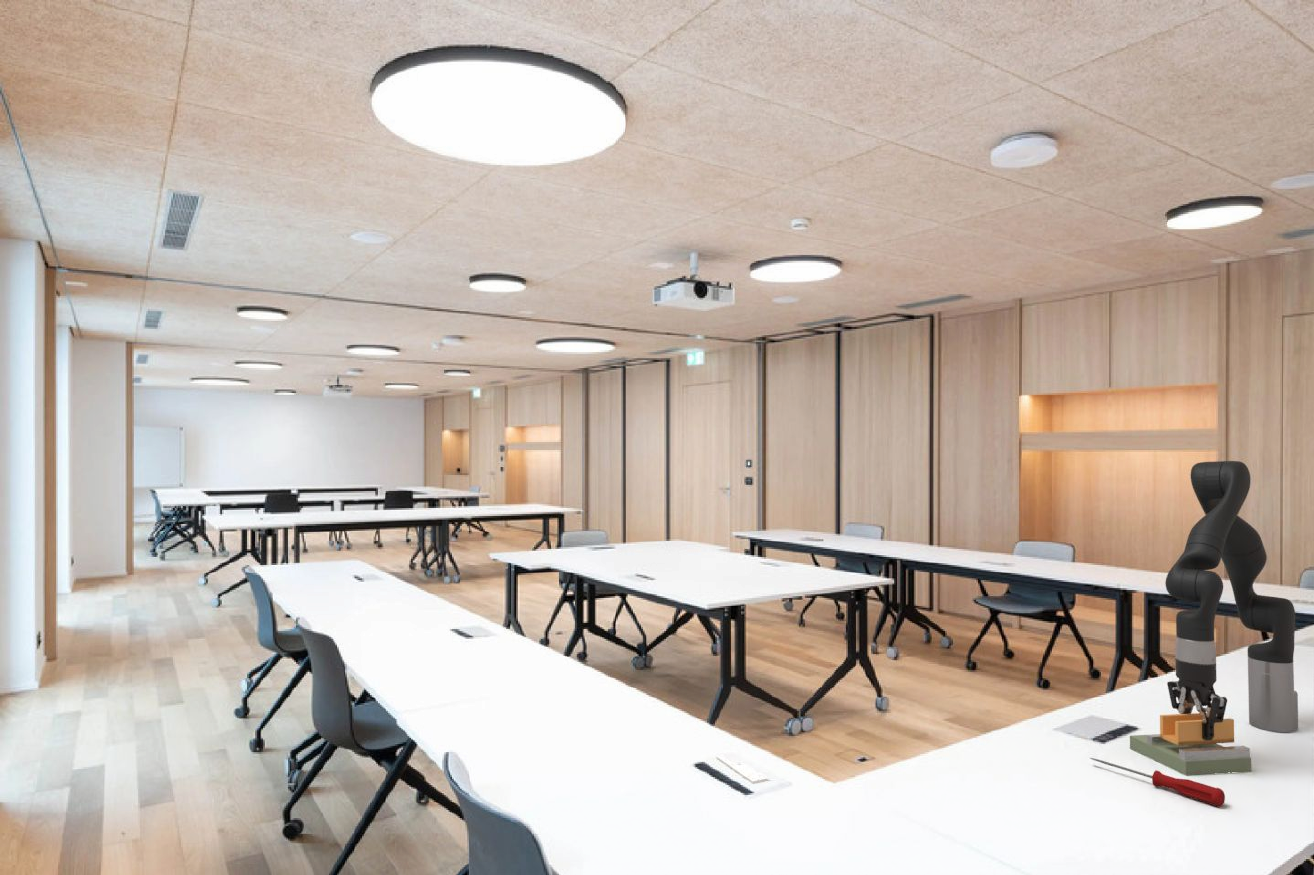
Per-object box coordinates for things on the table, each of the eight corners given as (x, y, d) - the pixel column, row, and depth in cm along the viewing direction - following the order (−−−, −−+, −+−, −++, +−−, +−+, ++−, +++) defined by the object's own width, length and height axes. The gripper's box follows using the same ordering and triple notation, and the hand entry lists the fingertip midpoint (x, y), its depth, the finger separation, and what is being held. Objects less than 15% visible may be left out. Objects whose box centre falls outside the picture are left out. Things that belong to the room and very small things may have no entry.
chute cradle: (1208, 740, 178) (1208, 731, 178) (1249, 757, 167) (1249, 748, 167) (1147, 743, 175) (1146, 734, 176) (1184, 761, 165) (1184, 751, 165)
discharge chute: (1214, 734, 175) (1214, 712, 175) (1234, 742, 170) (1233, 719, 170) (1160, 737, 173) (1159, 715, 173) (1178, 745, 168) (1178, 722, 168)
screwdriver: (1094, 764, 171) (1094, 748, 171) (1226, 805, 150) (1226, 787, 151) (1086, 767, 169) (1086, 751, 169) (1219, 810, 148) (1218, 791, 149)
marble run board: (1190, 745, 183) (1189, 719, 183) (1251, 771, 167) (1250, 744, 167) (1129, 748, 181) (1129, 722, 181) (1186, 775, 165) (1185, 747, 165)
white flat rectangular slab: (735, 756, 175) (735, 751, 175) (772, 782, 161) (772, 776, 161) (716, 759, 173) (716, 755, 173) (752, 785, 159) (752, 780, 159)
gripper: (1238, 666, 166) (1240, 746, 165) (1184, 650, 180) (1185, 723, 179) (1208, 667, 165) (1209, 747, 164) (1155, 651, 179) (1156, 725, 178)
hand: (1196, 734), depth 172 cm, fingers closed on discharge chute, 4 cm apart
